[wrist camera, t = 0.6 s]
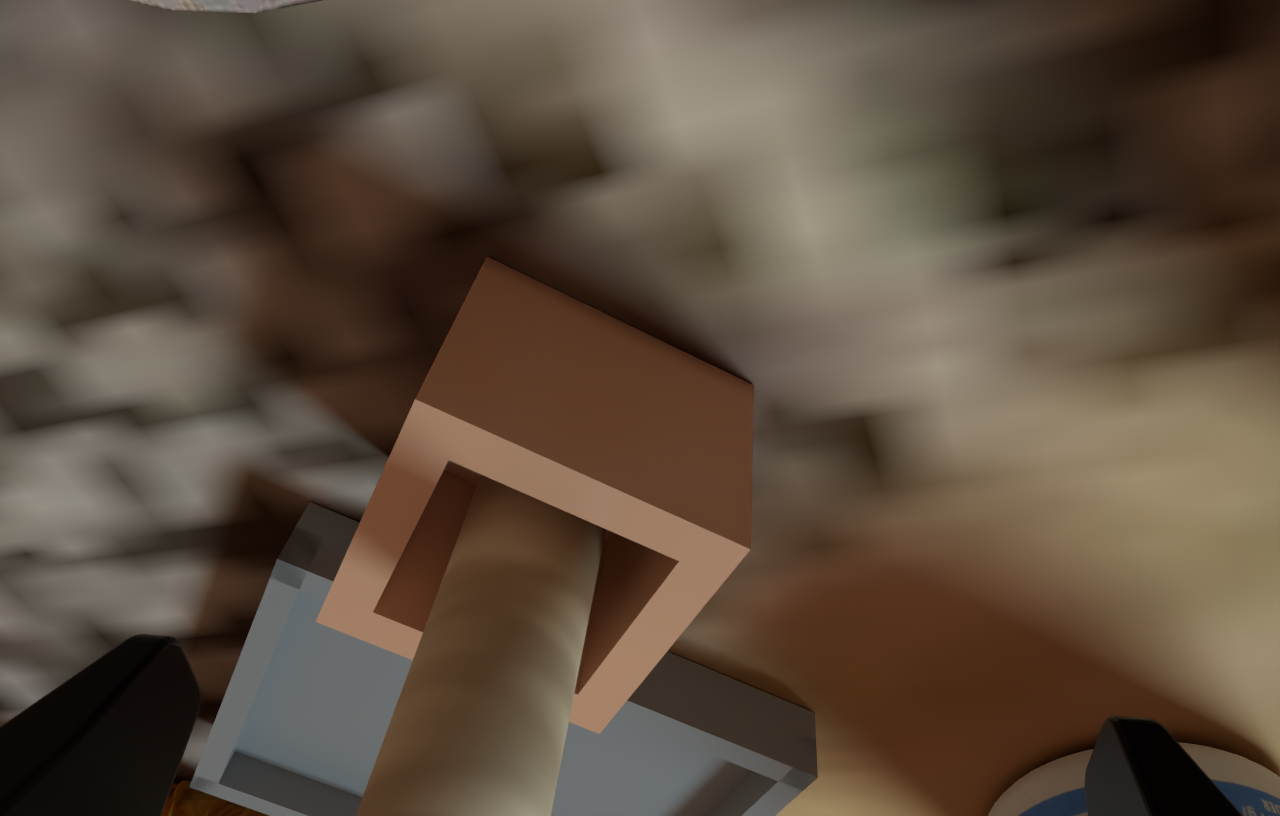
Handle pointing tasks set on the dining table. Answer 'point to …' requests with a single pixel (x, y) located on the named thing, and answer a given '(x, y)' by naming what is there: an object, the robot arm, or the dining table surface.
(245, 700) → the tray
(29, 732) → the robot arm
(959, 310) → the dining table surface
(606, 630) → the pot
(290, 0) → the coffee mug
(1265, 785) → the supplement tub
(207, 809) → the croissant
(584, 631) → the dowel
